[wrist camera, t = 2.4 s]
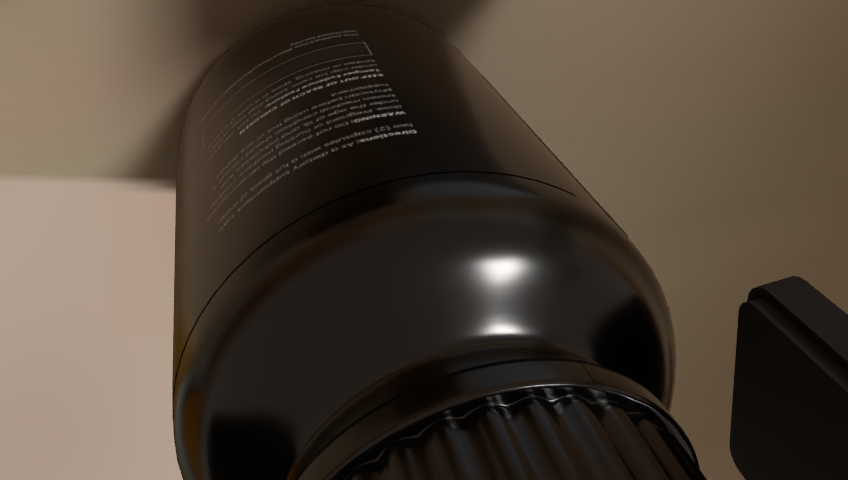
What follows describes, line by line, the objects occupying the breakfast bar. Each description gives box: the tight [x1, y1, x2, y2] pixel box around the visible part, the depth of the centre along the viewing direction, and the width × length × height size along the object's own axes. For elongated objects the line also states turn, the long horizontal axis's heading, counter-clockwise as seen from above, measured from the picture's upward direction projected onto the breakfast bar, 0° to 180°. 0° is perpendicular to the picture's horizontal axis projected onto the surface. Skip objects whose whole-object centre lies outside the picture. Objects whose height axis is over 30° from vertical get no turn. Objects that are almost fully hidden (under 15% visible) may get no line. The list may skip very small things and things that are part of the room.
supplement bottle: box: [173, 5, 707, 480], centre depth 13 cm, size 7×7×12 cm
